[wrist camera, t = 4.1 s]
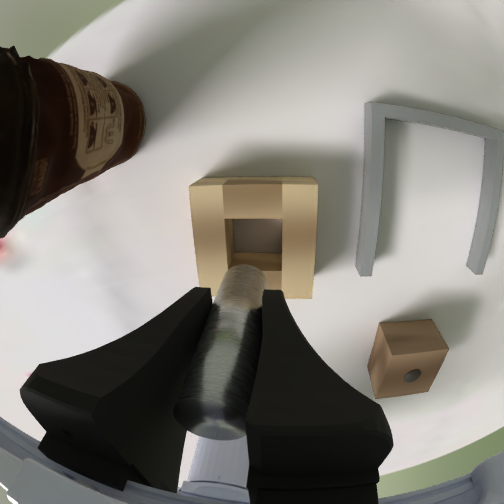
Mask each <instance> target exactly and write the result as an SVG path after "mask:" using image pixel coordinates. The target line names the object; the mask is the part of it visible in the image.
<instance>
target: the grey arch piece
mask: <svg viewBox="0 0 504 504" xmlns="http://www.w3.org/2000/svg"><path fill="white" fill-rule="evenodd" d="M385 119H392V120H400V121H406V122H413V123H419V124H424V125H430V126H435V127H440V128H445V129H450V130H454V131H458V132H463V133H467V134H471V135H475V136H479V137H482V138H485V155H484V168H483V179H482V187H481V195H480V202H479V209H478V215H477V220H476V226H475V231H474V236H473V240H472V245H471V249H470V253H469V258H468V262H467V265H466V266H467V267H468V268H469V269H470V270H471V271H472V272H473V273H474V274H475V275H480V274H483V271H484V267H485V264H486V260H487V256H488V252H489V248H490V244H491V240H492V235H493V231H494V226H495V221H496V215H497V209H498V203H499V197H500V189H501V181H502V171H503V159H504V131H502V130H499V129H496V128H493V127H489V126H486V125H483V124H479V123H476V122H472V121H469V120H465V119H461V118H457V117H453V116H449V115H445V114H440V113H436V112H431V111H426V110H421V109H416V108H410V107H404V106H398V105H391V104H384V103H376V102H369V103H366V104H365V145H364V175H363V192H362V206H361V219H360V229H359V239H358V248H357V257H356V265H355V266H356V269H357V271H358V273H359V275H360V276H372V270H373V264H374V257H375V250H376V243H377V235H378V227H379V218H380V208H381V197H382V184H383V167H384V140H385Z"/></svg>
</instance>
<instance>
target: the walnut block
mask: <svg viewBox="0 0 504 504" xmlns="http://www.w3.org/2000/svg"><path fill="white" fill-rule="evenodd" d="M448 350H449V348H448V346H447V344H446V342H445V341H444V339H443V337H442V335H441V334H440V332H439V330H438V329H437V327H436V325H435V324H434V322H433V320H432V319H426V320H414V321H399V322H381V323H379V326H378V330H377V333H376V337H375V341H374V345H373V348H372V352H371V355H370V359H369V362H368V366H367V367H368V371H369V375H370V379H371V383H372V387H373V391H374V395H375V399H380V398H388V397H396V396H403V395H410V394H417V393H423V392H428V391H429V389H430V387H431V385H432V383H433V381H434V379H435V377H436V375H437V373H438V371H439V369H440V367H441V365H442V363H443V361H444V359H445V357H446V355H447V352H448Z"/></svg>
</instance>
